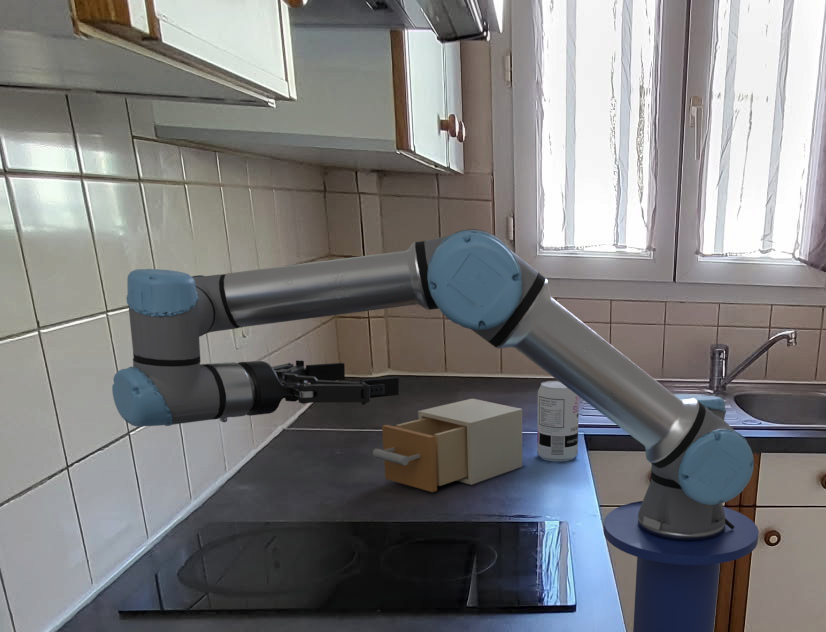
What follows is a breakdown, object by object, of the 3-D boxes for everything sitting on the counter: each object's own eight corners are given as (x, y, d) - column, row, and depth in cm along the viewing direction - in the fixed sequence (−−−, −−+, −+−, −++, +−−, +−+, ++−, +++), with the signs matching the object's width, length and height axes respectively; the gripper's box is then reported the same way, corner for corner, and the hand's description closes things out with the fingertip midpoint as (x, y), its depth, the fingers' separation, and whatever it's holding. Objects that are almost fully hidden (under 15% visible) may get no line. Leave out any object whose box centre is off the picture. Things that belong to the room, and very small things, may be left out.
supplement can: (531, 452, 171) (531, 381, 166) (568, 449, 175) (569, 379, 170) (545, 464, 165) (546, 389, 159) (583, 460, 169) (585, 387, 163)
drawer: (413, 498, 139) (410, 442, 136) (365, 484, 144) (361, 430, 141) (484, 474, 154) (483, 422, 150) (439, 462, 159) (437, 412, 155)
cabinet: (471, 485, 150) (469, 422, 146) (420, 471, 156) (417, 411, 152) (522, 466, 162) (522, 408, 158) (473, 454, 168) (472, 398, 164)
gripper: (196, 399, 124) (323, 387, 140) (295, 433, 111) (421, 416, 128) (192, 348, 121) (321, 343, 138) (292, 378, 108) (421, 368, 125)
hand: (369, 378), depth 133 cm, fingers open, 13 cm apart
